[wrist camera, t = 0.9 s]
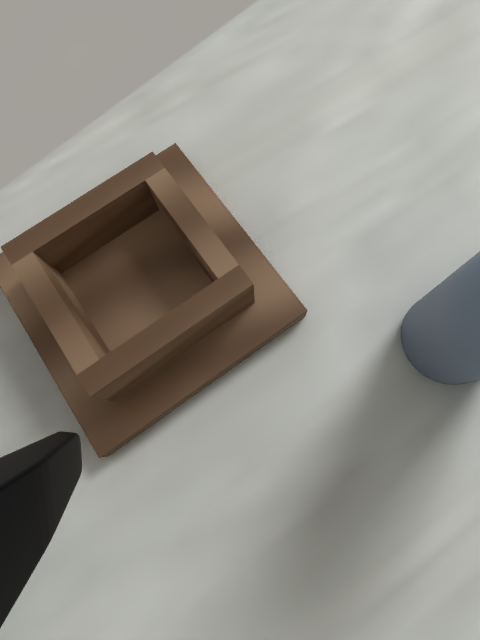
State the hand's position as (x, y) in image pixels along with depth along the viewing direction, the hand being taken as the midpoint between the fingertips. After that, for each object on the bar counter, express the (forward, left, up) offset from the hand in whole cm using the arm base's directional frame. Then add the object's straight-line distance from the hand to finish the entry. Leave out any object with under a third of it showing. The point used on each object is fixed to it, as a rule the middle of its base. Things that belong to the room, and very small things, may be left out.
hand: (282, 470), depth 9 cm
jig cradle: (+11, +1, -13) cm, 17 cm away
